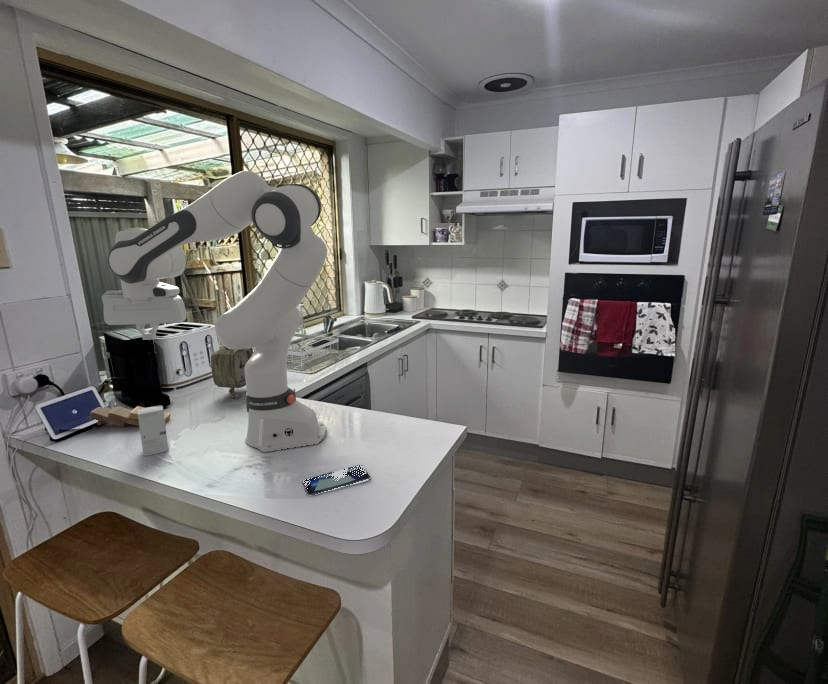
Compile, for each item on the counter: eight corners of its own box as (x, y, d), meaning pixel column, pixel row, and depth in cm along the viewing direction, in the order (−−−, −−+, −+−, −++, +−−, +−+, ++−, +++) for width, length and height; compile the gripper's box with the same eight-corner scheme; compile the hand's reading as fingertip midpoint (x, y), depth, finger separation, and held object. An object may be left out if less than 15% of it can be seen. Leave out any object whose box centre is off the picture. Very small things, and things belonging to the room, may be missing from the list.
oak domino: (170, 413, 138) (137, 406, 136) (164, 419, 133) (129, 412, 131) (169, 418, 139) (136, 411, 137) (163, 425, 134) (128, 417, 132)
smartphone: (301, 479, 102) (361, 463, 108) (301, 483, 102) (361, 467, 108) (308, 495, 95) (371, 477, 102) (308, 499, 96) (371, 481, 102)
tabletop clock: (236, 400, 153) (228, 332, 147) (213, 399, 155) (204, 331, 149) (257, 387, 167) (250, 324, 161) (236, 386, 169) (228, 323, 163)
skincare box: (143, 457, 114) (136, 414, 111) (143, 450, 118) (135, 409, 115) (170, 450, 117) (163, 409, 115) (168, 444, 121) (162, 404, 118)
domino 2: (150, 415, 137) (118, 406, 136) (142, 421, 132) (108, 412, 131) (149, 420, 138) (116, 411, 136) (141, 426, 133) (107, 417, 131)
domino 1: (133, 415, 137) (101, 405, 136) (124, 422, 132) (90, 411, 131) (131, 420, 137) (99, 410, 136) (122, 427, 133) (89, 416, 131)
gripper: (93, 292, 113) (103, 343, 116) (175, 290, 115) (182, 340, 118) (107, 289, 119) (116, 338, 122) (185, 287, 121) (191, 335, 124)
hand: (149, 339), depth 120 cm, fingers closed
